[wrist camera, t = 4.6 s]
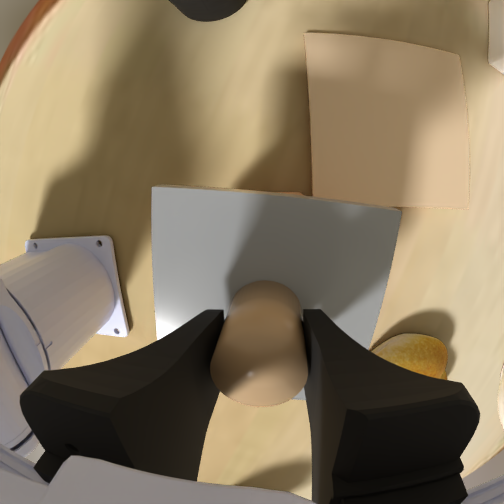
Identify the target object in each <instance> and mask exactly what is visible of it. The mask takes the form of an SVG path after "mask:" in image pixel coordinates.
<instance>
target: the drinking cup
mask: <svg viewBox="0 0 504 504" xmlns="http://www.w3.org/2000/svg"><path fill="white" fill-rule="evenodd" d="M169 1H170V2H171V3H172V4H173V5H175V6H176V7H177V8H178V9H179V10H180V11H181V12H182V13H183V14H184V15H185V16H187V17H188V18H190V19H193V20H197V21H204V22H207V21H216V20H220V19H223V18H226V17H228V16H230V15H232V14H233V13H235V12H236V11H238V10H239V9H240V8H241V7H242V6H243V4H244V3H245V1H246V0H169Z"/></svg>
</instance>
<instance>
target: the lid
mask: <svg viewBox="0 0 504 504" xmlns="http://www.w3.org/2000/svg"><path fill="white" fill-rule="evenodd" d="M401 214H402V211H400V210H398V209H396V208H393V207H387V206H380V205H374V204H367V203H360V202H353V201H345V200H337V199H330V198H321V197H313V196H304V195H295V194H286V193H276V192H265V191H254V190H242V189H230V188H216V187H201V186H184V185H163V184H159V185H156V186H153V187H152V206H151V223H152V266H153V287H154V304H155V317H156V329H157V340H159V339H161V338H162V337H164V336H166V335H168V334H169V333H171V332H173V331H174V330H176V329H177V328H179V327H180V326H182V325H183V324H185V323H186V322H188V321H189V320H191V319H192V318H194V317H195V316H197V315H198V314H200V313H201V312H203V311H205V310H207V309H222V310H224V320H225V321H224V324H223V327H222V330H221V333H220V336H219V339H218V342H217V345H216V348H215V351H214V354H213V357H212V360H211V363H210V373H211V377H212V380H213V382H214V383H215V385H216V387H217V388H218V389H219V390H220V391H221V392H222V393H223V394H224V395H226V396H227V397H228V398H230V399H232V400H234V401H236V402H238V403H241V404H244V405H248V406H254V407H269V406H275V405H279V404H282V403H284V402H287V401H289V400H290V399H297V400H306V397H305V391H304V385H305V384H306V381H307V377H308V366H307V355H306V345H305V336H304V326H303V309H321V310H322V311H323V312H324V313H325V314H326V315H327V316H328V317H329V318H330V319H331V320H332V321H333V322H334V323H335V324H336V325H337V326H338V327H339V328H340V329H342V330H343V331H344V332H345V333H346V334H347V335H349V336H350V337H351V338H352V339H354V340H355V341H356V342H358V343H359V344H360V345H362V346H363V347H365V348H366V349H369V346H370V343H371V340H372V337H373V333H374V330H375V327H376V323H377V320H378V316H379V313H380V309H381V305H382V302H383V298H384V294H385V290H386V286H387V282H388V278H389V274H390V269H391V265H392V260H393V256H394V251H395V246H396V241H397V236H398V231H399V226H400V220H401Z"/></svg>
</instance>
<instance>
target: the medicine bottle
mask: <svg viewBox="0 0 504 504" xmlns="http://www.w3.org/2000/svg"><path fill="white" fill-rule="evenodd" d="M488 7H489V49H488V62H489V64H490V65H491V66H493V67H494V68H495V69H497V70H498V71H499V72H501V73H502V74H503V75H504V0H491V1H489V3H488Z"/></svg>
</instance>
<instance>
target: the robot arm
mask: <svg viewBox="0 0 504 504" xmlns="http://www.w3.org/2000/svg"><path fill="white" fill-rule="evenodd" d="M99 240H100V241H101V242H102V246H101V245H100V244H99ZM36 244H37V245H36ZM25 248H26V253H25V254H22V255H20V256H18V257H16V258H13V259H11V260H9V261H7V262H5V263H3V264H0V504H504V474H503V475H501V476H499V477H497V478H495V479H492V480H490V481H488V482H486V483H483V484H481V485H478V486H476V487H474V488H471V489H468V490H466V489H465V486H464V483H463V481H462V478H461V476H460V473H461V472H462V471H463V469H464V466H463V464H462V461H461V459H460V456H461V455H462V453H463V451H464V450H465V448H466V447H467V445H468V443H469V442H470V440H471V438H472V437H473V435H474V433H475V430H476V428H477V426H478V423H479V419H480V412H479V409H478V406H477V405H476V403H475V401H474V400H473V398H472V397H471V395H470V394H469V392H468V391H467V389H466V388H465V386H464V385H463V384H462V383H460V382H454V381H449V380H444V379H438V378H434V377H430V376H426V375H423V374H420V373H416V372H413V371H411V370H408V369H405V368H403V367H400V366H398V365H396V364H394V363H391V362H389V361H387V360H385V359H383V358H381V357H379V356H378V355H376V354H374V353H373V352H371V351H369V350H368V349H366V348H365V347H363V346H362V345H360V344H359V343H358V342H356V341H355V340H354V339H352V338H351V337H350V336H349V335H347V334H346V333H345V332H344V331H343V330H342V329H340V328H339V327H338V326H337V325H336V324H335V323H334V322H333V321H332V320H331V319H330V318H329V317H328V316H327V315H326V314H325V313H324V312H323V311H322V310H321V309H303V326H304V336H305V345H306V355H307V366H308V377H307V381H306V384H305V385H304V391H305V397H306V403H307V409H308V415H309V422H310V429H311V444H312V501H311V500H308V499H305V498H303V497H300V496H298V495H295V494H293V493H291V492H287V491H278V490H270V489H263V488H257V487H246V486H232V485H222V484H212V483H204V482H197V477H198V471H199V466H200V460H201V455H202V450H203V445H204V440H205V436H206V432H207V428H208V425H209V421H210V419H211V416H212V413H213V410H214V407H215V404H216V401H217V398H218V395H219V392H220V390H219V389H218V388H217V387H216V385H215V383H214V382H213V380H212V377H211V373H210V363H211V360H212V357H213V354H214V351H215V348H216V345H217V342H218V339H219V336H220V333H221V330H222V327H223V324H224V321H225V320H224V310H222V309H207V310H205V311H203V312H201V313H200V314H198V315H197V316H195V317H194V318H192V319H191V320H189V321H188V322H186V323H185V324H183V325H182V326H180V327H179V328H177V329H176V330H174V331H173V332H171V333H169V334H168V335H166V336H164V337H162V338H161V339H159V340H157V341H155V342H154V343H152V344H150V345H148V346H146V347H143V348H141V349H139V350H136V351H134V352H132V353H129V354H126V355H123V356H120V357H117V358H114V359H111V360H108V361H104V362H100V363H96V364H92V365H87V366H82V367H76V368H68V369H61V368H62V367H63V366H64V365H65V364H66V363H67V362H68V361H69V360H70V359H71V358H72V357H73V356H74V355H75V354H76V353H77V352H78V351H79V350H80V349H81V348H82V347H83V346H84V345H85V344H86V343H87V342H88V341H89V340H90V339H91V338H92V337H93V336H94V335H95V334H102V335H110V336H118V337H126V336H127V335H128V334H129V327H128V322H127V318H126V313H125V308H124V304H123V299H122V294H121V289H120V283H119V278H118V272H117V266H116V260H115V253H114V247H113V241H112V239H111V237H109V236H107V235H102V236H81V237H61V238H43V239H29V240H27V241H26V242H25ZM117 329H118V330H119V331H117ZM39 443H40V444H41V445H42V447H43V448H44V449H45V450H46V451H45V452H44V454H43V455H42V456H41V457H40V459H39V460H38V462H37V463H36V464H35V463H33V462H32V461H30V460H28V459H26V458H25V457H26V456H28V455H29V454H30V453H31V452H32V451H33V450H34V449H35V448H36V447H37V446H38V444H39Z"/></svg>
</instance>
